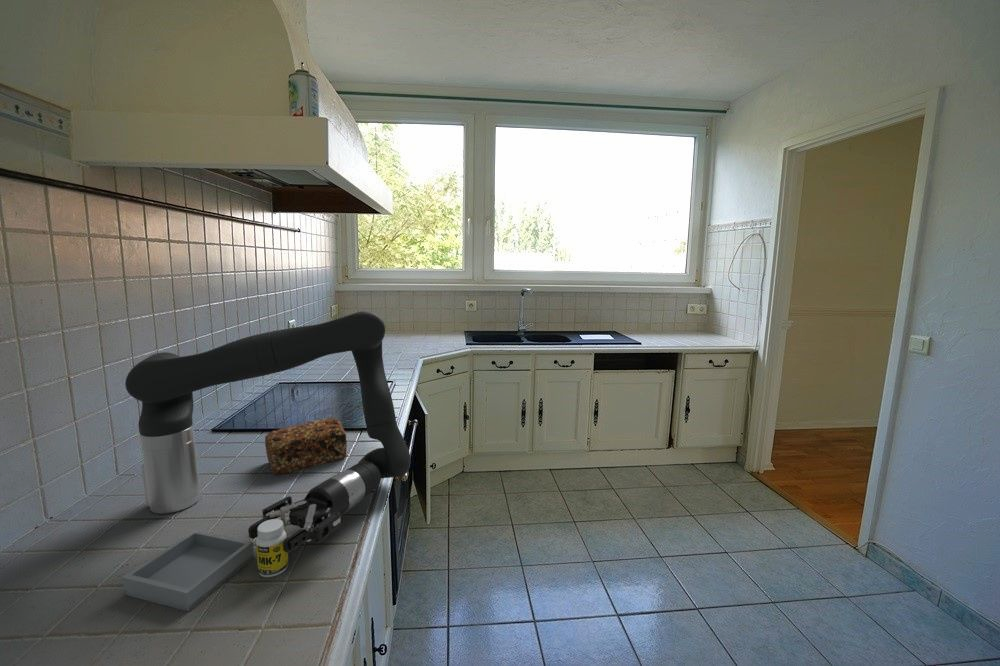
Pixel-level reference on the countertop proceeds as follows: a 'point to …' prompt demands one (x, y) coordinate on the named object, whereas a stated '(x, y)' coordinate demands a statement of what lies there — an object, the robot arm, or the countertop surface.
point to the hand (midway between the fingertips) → (266, 540)
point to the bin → (188, 570)
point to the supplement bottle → (271, 548)
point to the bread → (305, 445)
